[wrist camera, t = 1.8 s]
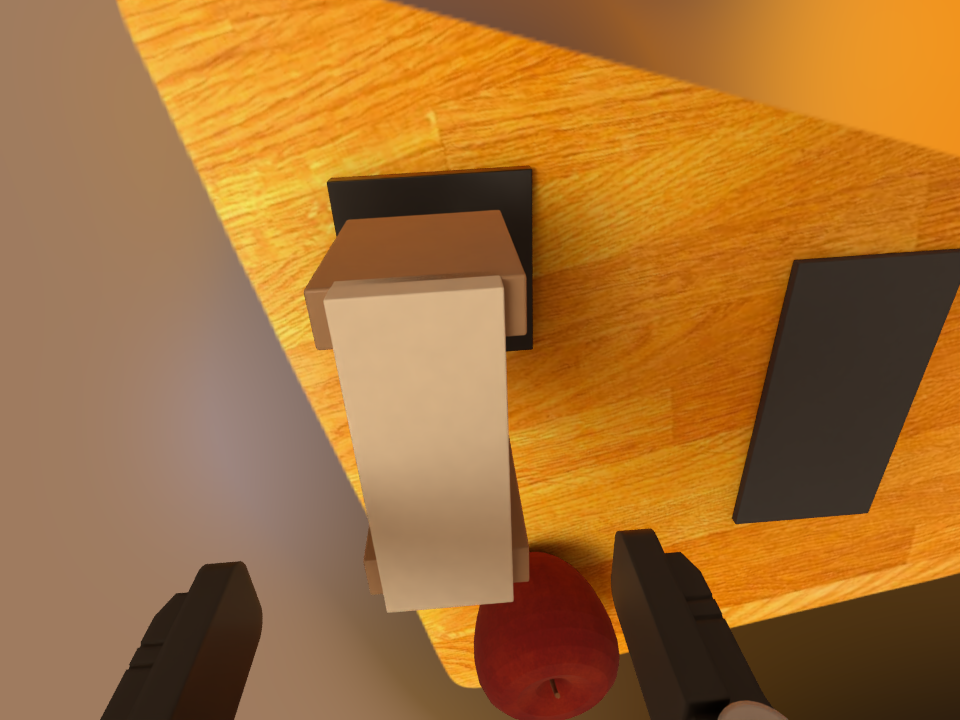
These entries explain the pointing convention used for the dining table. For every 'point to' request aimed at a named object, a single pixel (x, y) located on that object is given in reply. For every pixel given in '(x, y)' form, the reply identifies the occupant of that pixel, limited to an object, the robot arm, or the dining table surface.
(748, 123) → the dining table surface
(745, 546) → the dining table surface
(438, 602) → the beige wooden bench
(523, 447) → the dining table surface
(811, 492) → the mat
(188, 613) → the robot arm
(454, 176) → the stand
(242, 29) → the dining table surface
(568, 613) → the apple
